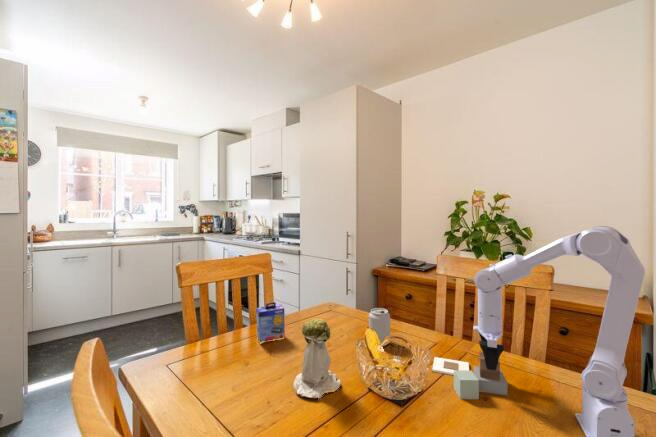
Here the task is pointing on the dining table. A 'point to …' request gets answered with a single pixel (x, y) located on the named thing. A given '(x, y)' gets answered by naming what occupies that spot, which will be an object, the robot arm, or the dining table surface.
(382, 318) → the can
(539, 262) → the robot arm
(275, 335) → the ink cartridge box
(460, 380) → the grey-green block
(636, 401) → the dining table surface
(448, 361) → the plaque
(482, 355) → the walnut block
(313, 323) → the grey statuette
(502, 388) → the slate plinth
